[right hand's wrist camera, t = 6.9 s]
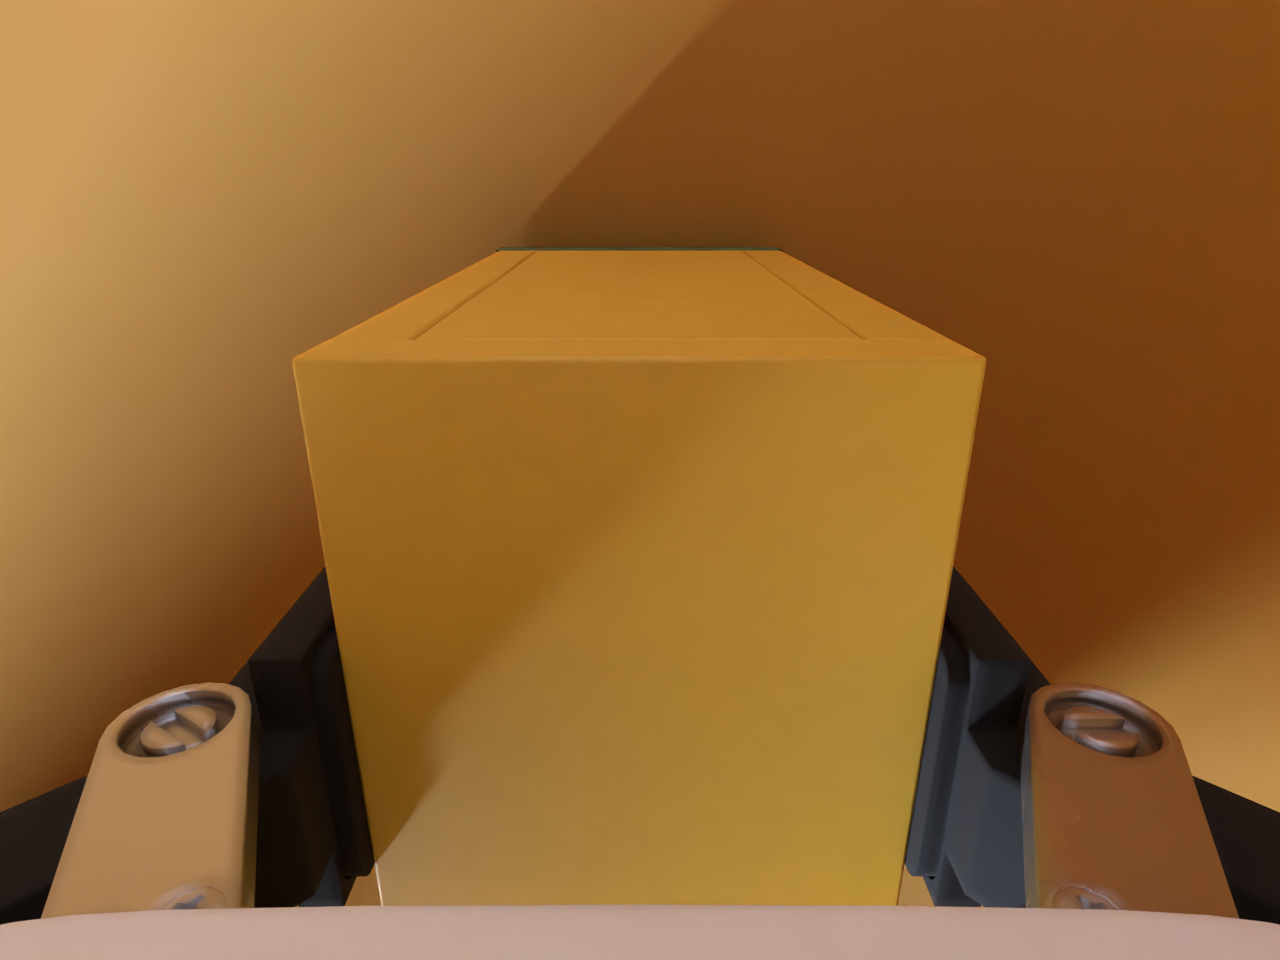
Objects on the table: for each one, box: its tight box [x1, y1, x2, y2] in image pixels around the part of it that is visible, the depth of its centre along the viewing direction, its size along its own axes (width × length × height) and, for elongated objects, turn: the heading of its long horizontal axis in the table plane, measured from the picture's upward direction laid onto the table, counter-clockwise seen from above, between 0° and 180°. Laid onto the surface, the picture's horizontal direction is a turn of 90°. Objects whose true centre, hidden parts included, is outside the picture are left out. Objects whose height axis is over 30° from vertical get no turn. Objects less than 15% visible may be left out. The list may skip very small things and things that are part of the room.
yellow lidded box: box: [292, 247, 986, 906], centre depth 15 cm, size 16×6×12 cm, turn 0°
